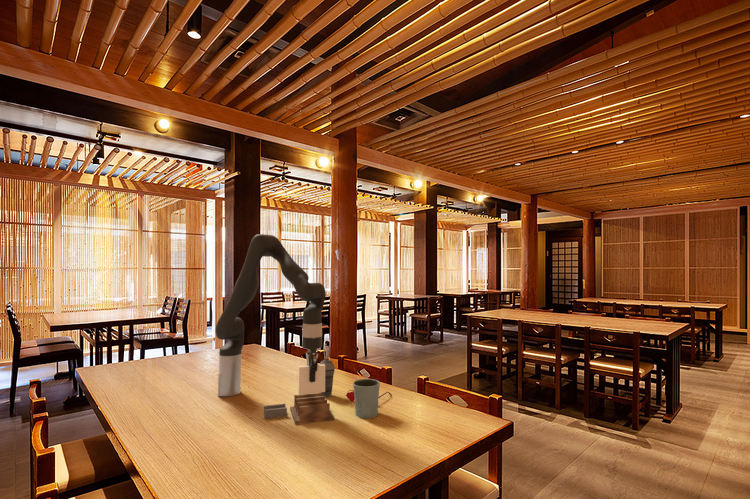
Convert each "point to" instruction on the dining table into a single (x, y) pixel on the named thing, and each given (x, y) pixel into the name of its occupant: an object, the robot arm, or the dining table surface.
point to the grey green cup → (366, 397)
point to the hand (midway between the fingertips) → (311, 380)
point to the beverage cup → (328, 376)
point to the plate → (305, 384)
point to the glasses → (351, 396)
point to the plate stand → (275, 411)
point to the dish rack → (310, 408)
